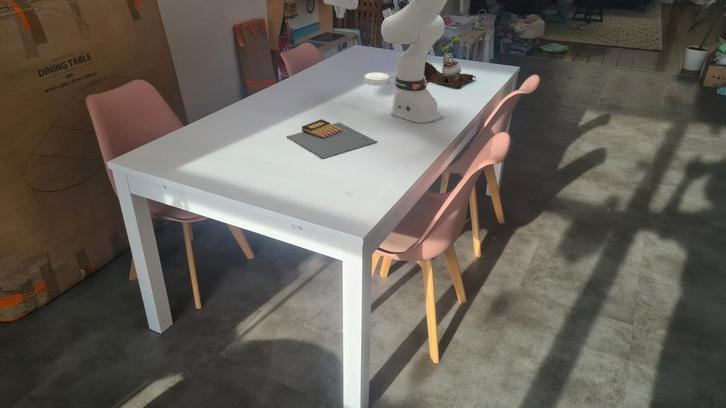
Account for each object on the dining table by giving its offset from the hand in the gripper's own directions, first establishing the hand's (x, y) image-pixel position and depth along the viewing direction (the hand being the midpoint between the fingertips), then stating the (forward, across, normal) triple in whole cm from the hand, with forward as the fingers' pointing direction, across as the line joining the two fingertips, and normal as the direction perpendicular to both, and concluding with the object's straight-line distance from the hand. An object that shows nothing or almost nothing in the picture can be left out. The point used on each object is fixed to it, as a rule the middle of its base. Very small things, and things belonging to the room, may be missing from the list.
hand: (340, 17), depth 221 cm
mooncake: (+34, -8, +27) cm, 45 cm away
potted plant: (+34, +12, +56) cm, 67 cm away
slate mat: (+34, +38, -32) cm, 61 cm away
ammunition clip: (+33, +25, -32) cm, 52 cm away
